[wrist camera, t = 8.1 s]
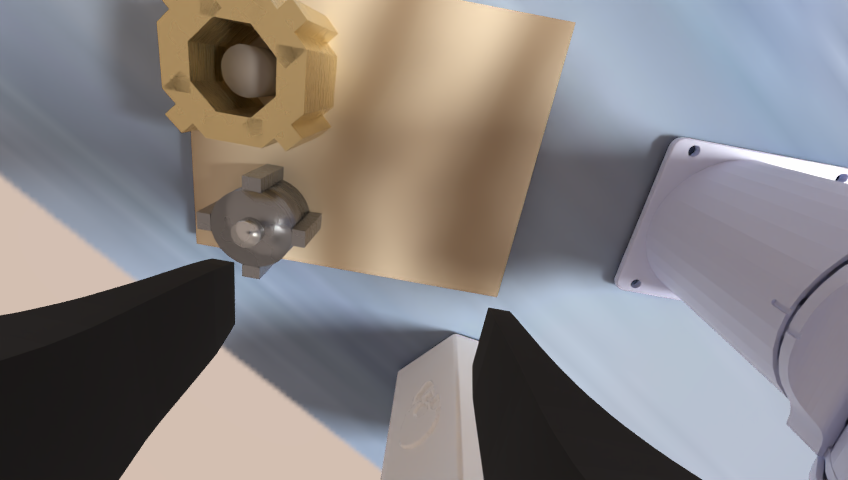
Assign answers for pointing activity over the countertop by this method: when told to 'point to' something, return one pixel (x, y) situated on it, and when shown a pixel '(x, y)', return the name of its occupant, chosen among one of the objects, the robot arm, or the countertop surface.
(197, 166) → the gear board
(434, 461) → the jar
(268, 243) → the gear
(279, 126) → the brass gear
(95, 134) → the countertop surface
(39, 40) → the countertop surface
